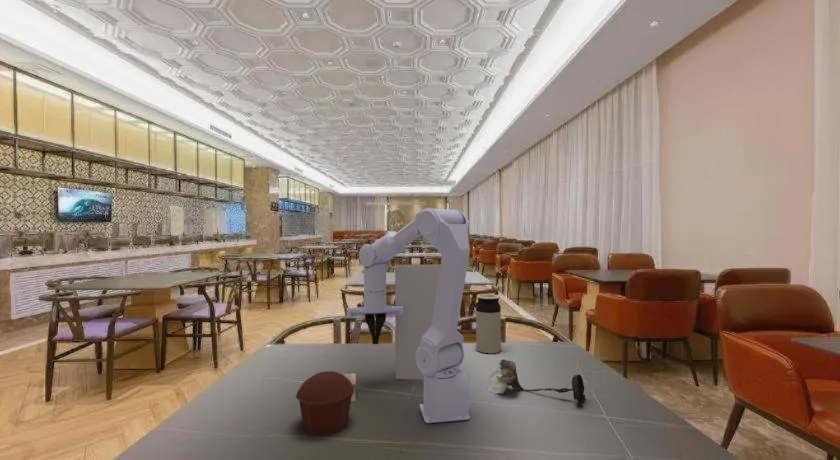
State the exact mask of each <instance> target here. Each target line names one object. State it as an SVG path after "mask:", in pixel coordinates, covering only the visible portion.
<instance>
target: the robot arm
mask: <svg viewBox="0 0 840 460" xmlns="http://www.w3.org/2000/svg"><path fill="white" fill-rule="evenodd" d="M470 222H471V221H469V220H468V218H467V216H466V215H465V214H464V212H463V211H462V210H461V209H460V210H459V209H457V208H453V209H446V208H434V207H425V208H423V209H422V210H421V211H419V212H417V213H416V214H415V218H413V219H412V220H411V221H410V222H408V223H407V224H406V225H405V226H403V227H402V228H401V229H399V230H398V231H394V230H393V231H392V230H387V231H385V232H384V235H383V236H381V238H379V239H375V240H374V242H373V243H371V244H370V243H365V244H363V245H362V246H361V247H360V249H359V252H358V253H359V254H358V259H359V262H360V264H361V266H363V306H356V307H346V317H347V318H349V317H350V318H351V317H362V316H363V317H364V320H365V323H366V324H367V326H368V329H369V332H370V334H371V339H372V340H371V341H372V345H379V341H380V335H381V333H382V329H383V327H384V325H385V323H386V320H387V315H388V316H389V315H395V314H399V315H403V306H395V305H387V272H388V270H389V264H390V262H391V260H392V258H394V257H396V256H398V255H399V254H401V253H403V252H404V251H405V248H406V245H407V244H409V243H410V242H412V241H414V240H417V239H418V238H420V237H422V238H424V240H426V241H427V242H428V243H429V244H430V245H431V246H433V248H435V249H436V250H437V251H438V252H439V254H440V255H441V260H440V265H441V266H440V273H439V279H438V285H437V291H436V298H435V304H434V310H433V317H432V323H431V327H430V328H429V329H428V331H427V332H426V333H425V334H424V335H423V336H422V338H421V343H420V346H419V347H418V348H417V350H416V355H415V358H416V364H417V366H418V368H419V370H420V371H421V374H423V375H424V380H423V403H420V404H419V409H420V413H421V414H422V417H423V421H424V423H425V424H433V423H434V424H435V423H445V422H456V421H458V422H459V421H467V420H470V419H471V415H470V389H469V388H470V386H469V379H468V375H467V373H466V371H465V370H460V365H461V364H462V363H463V361H464V359H465V348H464V338H465V337H464V336H463V334H461V333H460V332H459V331H458V325H459V319H460V313H461V305H462V301H463V296H464V295H463V294H464V288H465V284H466V283H465V282H466V278H467V277H466V276H467V270H468V264H469V261H470V260H469V259H470V255H471V254H470V253H471V252H470V251H471V249H470V248H471V247H470V241H469V236H468V234H469V229H470Z"/></svg>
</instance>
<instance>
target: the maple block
mask: <svg viewBox="0 0 840 460" xmlns="http://www.w3.org/2000/svg"><path fill="white" fill-rule="evenodd" d="M341 374H342V375H344V376H345V377H347V378H348V379H349V380H350V382H351V383H352V385H353V386H354V392H353V394H352V396H351V402H356V399H357V394H356V393H357V388H356V387H357V386H356V385H357V383H356V382H357V379H356V378H357V377H356V375H357V374H356V372H355V373H341Z"/></svg>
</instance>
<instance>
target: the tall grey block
mask: <svg viewBox="0 0 840 460" xmlns="http://www.w3.org/2000/svg"><path fill="white" fill-rule="evenodd" d="M440 266H441V264H397V266H396V265H395V266H394V291H395V292H394V303H395V304H394V306H403V315H399V314H394V317H395V322H394V323H395V325H394V326H395V328H394V330H395V331H394V333H395V334H394V335H395V336H394V337H395V340H394V341H395V342H394V343H395V345H394V347H395V348H394V349H395V379H396V380H414V381H415V380H418V381H419V380H421V381H424V375H423V374H421V371H420V370H419V368H418V366H417V364H416V358H415V355H416V350H417V348H418V347H419V346H420V343H421V338H422V336H423V335H424V334H425V333H426V332H427V331H428V329H429V328H430V327H431V323H432V317H433V310H434V304H435V298H436V291H437V285H438V279H439V273H440Z"/></svg>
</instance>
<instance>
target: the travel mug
mask: <svg viewBox="0 0 840 460" xmlns="http://www.w3.org/2000/svg"><path fill="white" fill-rule="evenodd" d="M476 298H477V303H476V305H475V317H476V318H475V321H476V322H475V328H476V329H475V331H476V332H475V333H476V335H475V336H476V337H475V338H476V339H475V340H476V342H475V343H476V345H475V347H476V349H475V350H476V351H478V352H479V353H481V352H482V353H481V354H486V353H488V354H492V355H493V353H494V354H498V353H500V352H501V351H502V331H501V330H502V323H501V322H502V321H501V320H502V317H501V315H502V314H501V313H502V312H501V311H502V310H501V309H502V307H501V304H500V302H499V299H500V298H501V297H500V295H498V294H492V293H482V294H480V293H479V294H477V295H476ZM488 354H487V355H488Z"/></svg>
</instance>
